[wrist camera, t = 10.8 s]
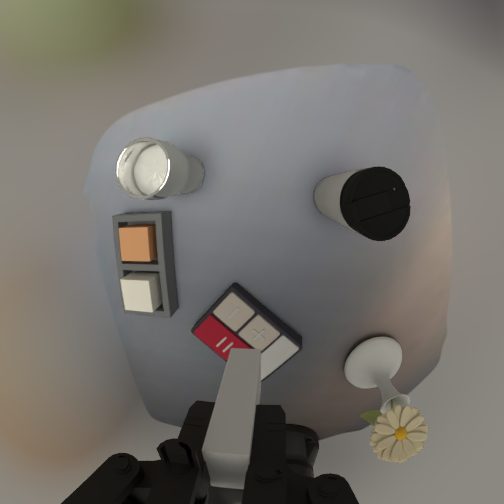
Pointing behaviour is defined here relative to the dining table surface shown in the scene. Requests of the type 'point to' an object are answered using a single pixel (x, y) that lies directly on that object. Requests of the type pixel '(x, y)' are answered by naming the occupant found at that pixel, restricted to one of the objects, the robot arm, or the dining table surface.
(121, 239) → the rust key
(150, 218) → the key housing
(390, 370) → the flower in vase
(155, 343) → the dining table surface
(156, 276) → the cream key
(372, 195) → the travel mug
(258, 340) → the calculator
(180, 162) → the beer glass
